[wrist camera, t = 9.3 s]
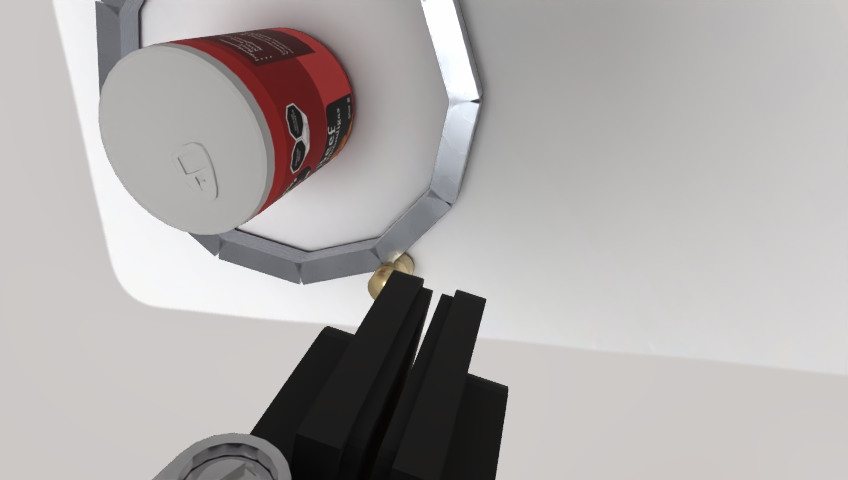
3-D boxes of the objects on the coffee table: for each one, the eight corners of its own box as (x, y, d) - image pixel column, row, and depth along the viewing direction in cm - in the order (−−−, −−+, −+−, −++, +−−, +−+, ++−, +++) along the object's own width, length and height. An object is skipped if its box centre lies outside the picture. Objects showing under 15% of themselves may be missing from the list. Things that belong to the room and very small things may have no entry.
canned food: (295, 188, 35) (190, 266, 25) (208, 81, 34) (61, 120, 24) (386, 117, 32) (307, 175, 22) (295, -5, 30) (167, 0, 21)
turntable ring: (109, -170, 29) (62, -186, 26) (527, -75, 26) (523, -81, 24) (121, 214, 39) (88, 231, 36) (428, 311, 36) (416, 337, 34)
